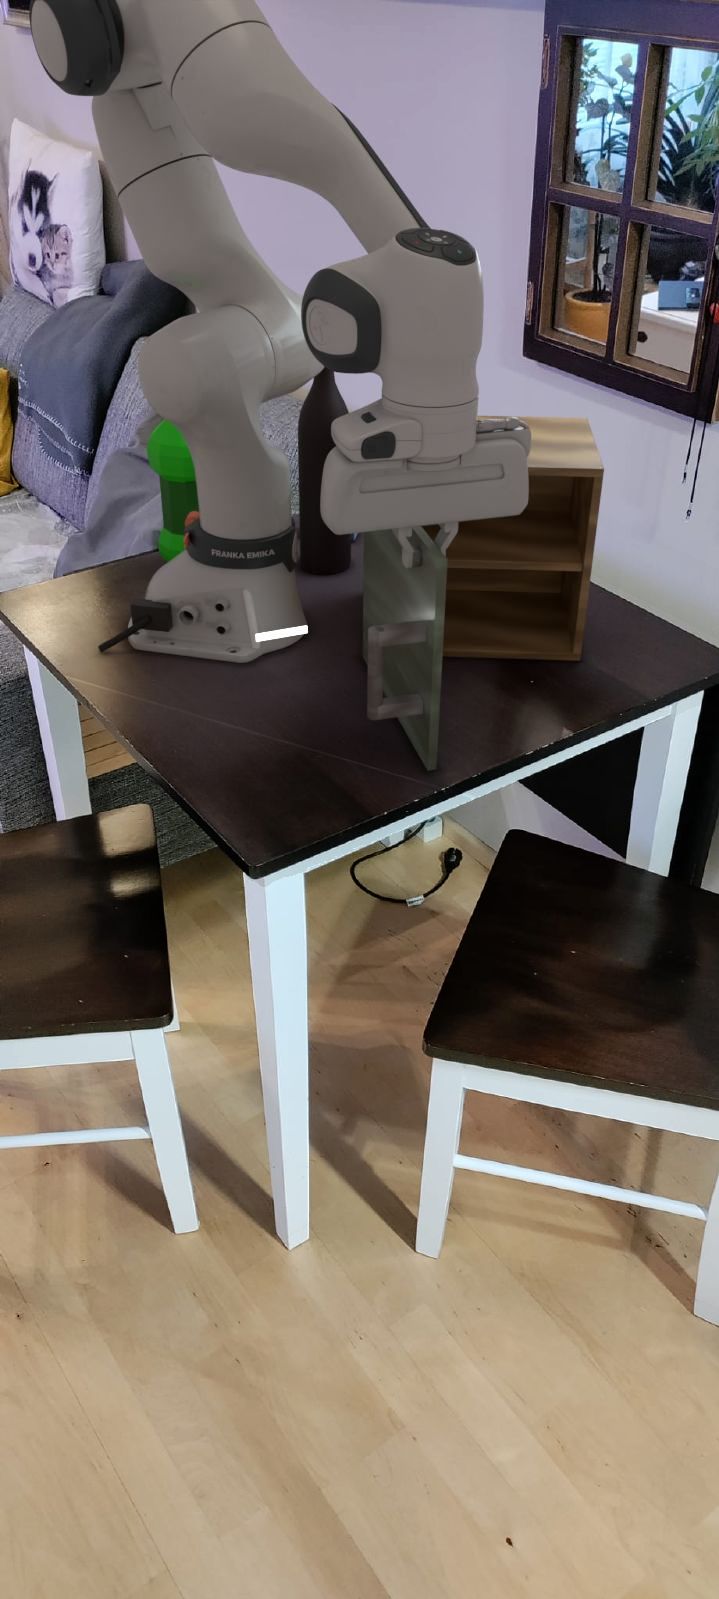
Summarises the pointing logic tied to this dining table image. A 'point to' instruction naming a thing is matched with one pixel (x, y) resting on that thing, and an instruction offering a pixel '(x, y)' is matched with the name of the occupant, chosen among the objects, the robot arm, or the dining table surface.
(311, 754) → the dining table surface
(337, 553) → the wine bottle
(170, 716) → the dining table surface
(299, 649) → the dining table surface
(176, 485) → the plastic bottle
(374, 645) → the door
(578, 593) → the cupboard
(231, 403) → the robot arm
